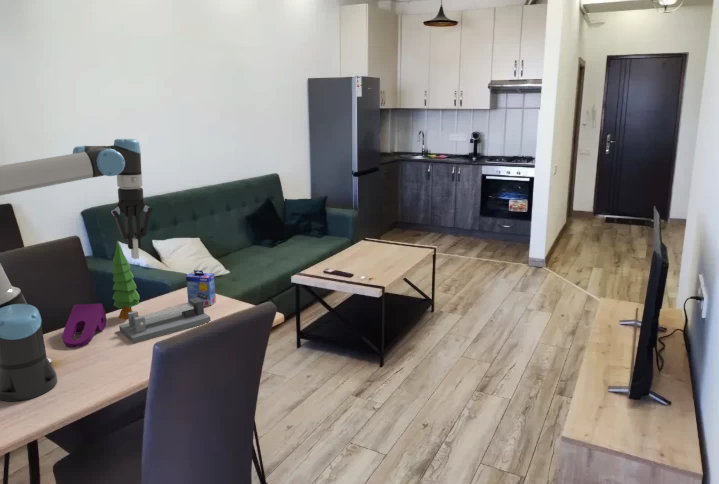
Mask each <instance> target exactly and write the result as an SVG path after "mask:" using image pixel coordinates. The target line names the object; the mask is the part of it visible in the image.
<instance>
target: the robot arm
mask: <svg viewBox="0 0 719 484" xmlns="http://www.w3.org/2000/svg"><path fill="white" fill-rule="evenodd" d="M141 155H142V153H141V146H140V141H139V140H137V139H134V138H115V139H114V141H113V145H79V146H75V147H74V148H73V149H72V153H71V154H70V153H69V154H63V155H57V156H51V157H44V158H40V159H39V158H37V159H32V160H26V161H21V162H14V163H8V164H2V165H0V196H5V195H10V194H16V193H21V192H26V191H31V190H36V189H40V188H47V187H50V186H55V185H62V184H66V183H72V182H77V181H81V180H87V179H93V178H98V177H105V176H106V177H113V176H116V184H117V187H118V188H117V198H118V201H117V202H118V203H117V207H115V208H114V209H111V210H110V213H111V215H112V216H113V217H114V220H115V223H116V226H117V230H118V231H119V234H120V237H121V238H123V239H126V240H127V248H128V249H129V250H130V254H131V256H130V257H131V258H132V259H134V260H137V259H139V258H140V255H139V254H140V253H139V249H140V248H141V247H142V243H141V242H142V241H141V239H142V238H143V237H146V236H147V232H148V226H149V222H150V221H149V220H150V215H151V214H152V211H153V208H152V207H151V206H148V205H146V203H145V201H144V189H143V188H142V186H143V174H142V172H143V171H142V157H141ZM142 212H143V214H142V219H141V215H140V214H141V213H142ZM121 213H122V214H123V215H124V219H125V226H124V222H123V221H122V217H121V215H120V214H121ZM132 221H133V222H132ZM133 231H134V232H133ZM57 384H58V375H57V372H56V370H55V368H54V367H53V366H52V363H51V362H50V360H49V359H48V357H47V350H46V346H45V339H44V333H43V326H42V317H41V314H40V311H39V309H38V308H37V307H36V306H34V305H32V304H28V303H27V301H26V299H25V296H24V295H23V293H22V291H21V288H19V287H15V286H13V285H12V283H11V282H10V280H9V278H8V276H7V274H6V272H5V269H4V267H3V266H2V263H0V401H3V402H4V401H5V402H19V401H20V402H21V401H24V400H30V399H33V398H36V397H39V396H41V395H44V394H46V393H47V392H49V391H51V390H52V389H54V388H55V387H56V385H57Z"/></svg>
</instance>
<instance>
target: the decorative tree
mask: <svg viewBox="0 0 719 484" xmlns="http://www.w3.org/2000/svg"><path fill="white" fill-rule="evenodd" d="M115 246H116V248H115V251H114V256H113V259H112V261H111V263H112V269H111V274H113V278H112V282H114V283H113V285H112V289H111V290H112V291H114V293H113V294H112V298H111V299H112V300H114V302H113V307H115V308H117V309H121V310H120V312H119V315H118V319H121V320H124V321H125V320H129V319H128V313H129V312H133V308H132V307H134V306H138V305H139V304H140V294H139V293H138V291H137V290H136V289H138V287H137V284H136V283H135V281H134V278H135V277H134V276H135V275H134V274H133V272H132V271H131V265H130V264H129V262H128V259H127V257H126V256H125V254H124V251H123V249H122V246H121V244H120V242H119V240H118V239H116V245H115Z"/></svg>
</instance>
